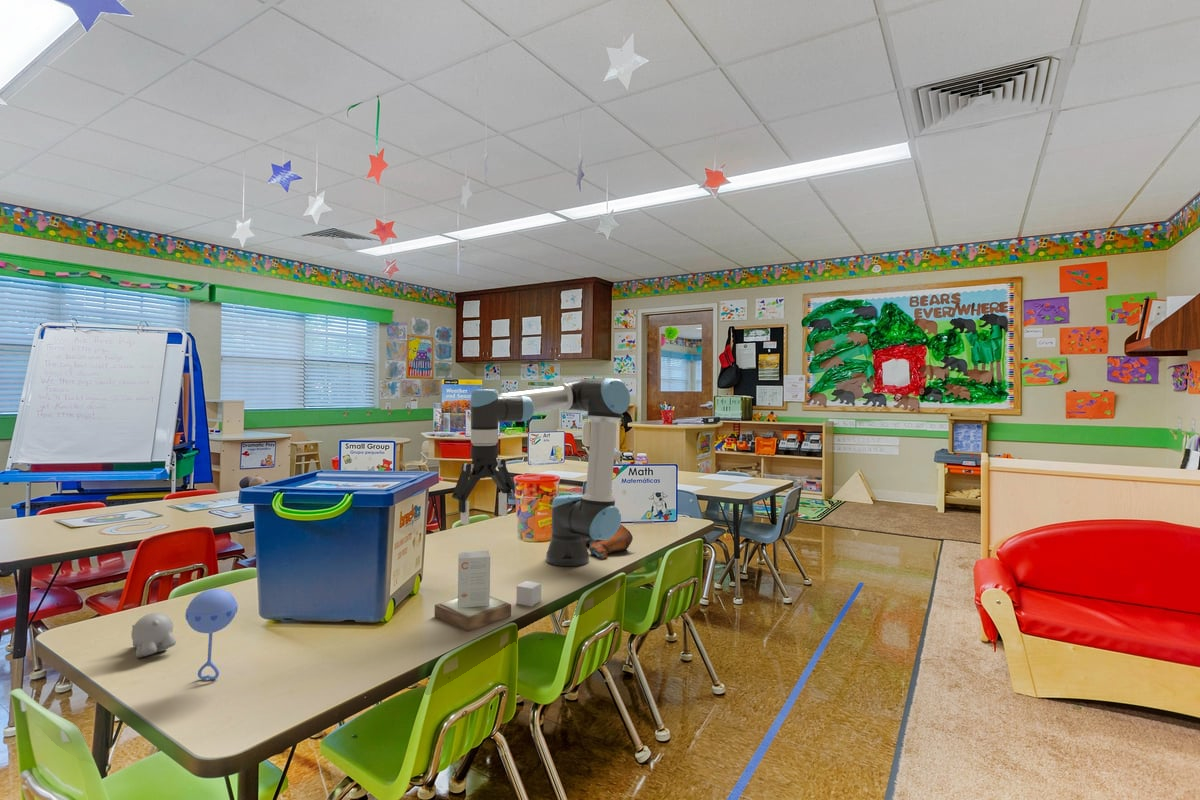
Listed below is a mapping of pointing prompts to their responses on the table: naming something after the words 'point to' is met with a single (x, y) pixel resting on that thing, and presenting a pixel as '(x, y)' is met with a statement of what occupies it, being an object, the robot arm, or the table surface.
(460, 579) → the small box
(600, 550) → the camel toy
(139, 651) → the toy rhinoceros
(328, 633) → the table surface
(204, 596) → the baby rattle
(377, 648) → the table surface
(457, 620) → the stand
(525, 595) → the grey cube
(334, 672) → the table surface
